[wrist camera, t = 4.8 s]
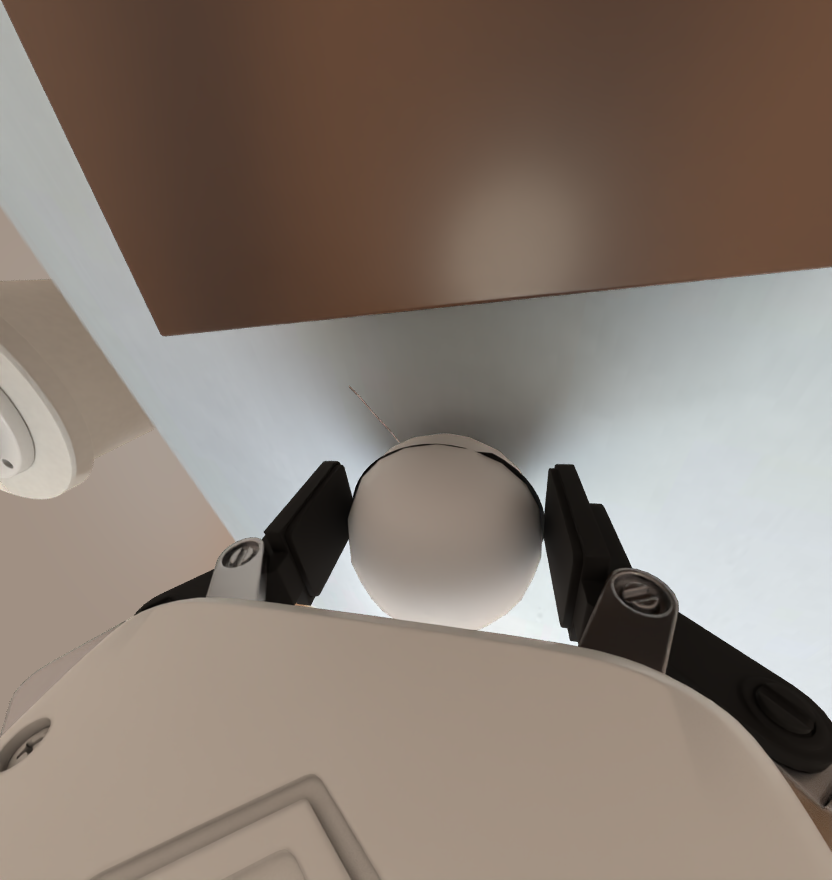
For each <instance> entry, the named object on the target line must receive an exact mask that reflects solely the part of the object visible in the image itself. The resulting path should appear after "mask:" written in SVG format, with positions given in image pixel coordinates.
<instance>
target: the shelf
mask: <svg viewBox="0 0 832 880" xmlns="http://www.w3.org/2000/svg"><path fill="white" fill-rule="evenodd" d="M1 1H2V3H3V5H4V7H5V9H6V11H7V13H8V15H9V18H10V20H11V22H12V24H13V26H14V28H15V30H16V32H17V34H18V36H19V39H20V41H21V43H22V45H23V47H24V49H25V51H26V53H27V55H28V57H29V59H30V62H31V64H32V66H33V68H34V70H35V72H36V74H37V76H38V78H39V80H40V83H41V85H42V87H43V89H44V91H45V93H46V95H47V97H48V99H49V101H50V104H51V106H52V108H53V110H54V112H55V114H56V116H57V118H58V120H59V122H60V124H61V127H62V129H63V131H64V133H65V135H66V137H67V139H68V141H69V143H70V145H71V148H72V150H73V152H74V154H75V156H76V158H77V160H78V162H79V164H80V166H81V168H82V171H83V173H84V175H85V177H86V179H87V181H88V183H89V185H90V187H91V189H92V192H93V194H94V196H95V198H96V200H97V202H98V204H99V206H100V208H101V210H102V212H103V215H104V217H105V219H106V221H107V223H108V225H109V227H110V229H111V231H112V233H113V236H114V238H115V240H116V242H117V244H118V246H119V248H120V250H121V252H122V254H123V256H124V259H125V261H126V263H127V265H128V267H129V269H130V271H131V273H132V275H133V277H134V280H135V282H136V284H137V286H138V288H139V290H140V292H141V294H142V296H143V298H144V300H145V303H146V305H147V307H148V309H149V311H150V313H151V315H152V317H153V319H154V321H155V324H156V326H157V328H158V330H159V332H160V334H161V335H162V336H174V335H184V334H194V333H203V332H213V331H222V330H232V329H242V328H251V327H261V326H271V325H280V324H290V323H299V322H309V321H319V320H328V319H338V318H347V317H357V316H367V315H376V314H386V313H396V312H405V311H415V310H424V309H434V308H444V307H453V306H463V305H473V304H482V303H492V302H501V301H511V300H521V299H530V298H540V297H549V296H559V295H569V294H578V293H588V292H598V291H607V290H617V289H626V288H636V287H646V286H655V285H665V284H675V283H684V282H694V281H703V280H713V279H723V278H732V277H742V276H752V275H761V274H771V273H780V272H790V271H800V270H809V269H819V268H828V267H832V0H1Z"/></svg>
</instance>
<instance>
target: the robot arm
mask: <svg viewBox="0 0 832 880" xmlns="http://www.w3.org/2000/svg"><path fill="white" fill-rule="evenodd" d="M34 455H35V448H34V443H33V439H32V436H31V434H30V431H29V429H28V427H27V425H26V423H25V421H24V419H23V418H22V416H21V414H20V413H19V411H18V410H17V408H16V407H15V405H14V404H13V403H12V401H11V400H10V399H9V397H8V396H7V395H6V393H5V392H4V391H3V390H2V389H1V388H0V479H1V478H10V477H12V476H14V475H17V474H19V473H21V472H24V471H26V470H27V469H28V468H30V467H31V465H32V463H33V461H34ZM352 504H353V498H352V494H351V490H350V487H349V483H348V479H347V475H346V471H345V468H344V466H343V465H341V464H340V463H339V462H338V461H324V462H323V463H322V464H321V465H320V466H319V467H318V469H317V470H316V471H315V472H314V473H313V474H312V476H311V477H310V478H309V479H308V480H307V482H306V483H305V484H304V485H303V486H302V487H301V489H300V490H299V491H298V492H297V493H296V494H295V496H294V497H293V498H292V499H291V500H290V502H289V503H288V504H287V505H286V506H285V507H284V509H283V510H282V511H281V512H280V513H279V515H278V516H277V517H276V518H275V519H274V520H273V522H272V523H271V524H270V525H269V526H268V527H267V529H266V530H265V531H264V533H265V536H264V537H263V539H262V540H261V539H259V538H257V537H250V538H245V539H242V540H240V541H237V542H235V543H234V544H232V545H230V546H229V547H228V548H227V549H225V550H224V551H223V552H222V554H221V555H220V556H219V558H218V560H217V562H216V566H215V569H213V570H211V571H209V572H207V573H205V574H203V575H200V576H198V577H196V578H194V579H192V580H190V581H188V582H185V583H184V584H181V585H179V586H177V587H175V588H173V589H170V590H169V591H166V592H164V593H162V594H160V595H158V596H156V597H154V598H153V599H151V600H150V601H149V602H147V603H146V604H144V605H143V606H142V607H141V608H140V609H139V610H138V611H137V612H136V614H135V615H134V616H133V617H131V618H130V619H128V620H127V621H124V622H122V623H120V624H119V625H117V626H115V627H113V628H111V629H110V630H108V631H106V632H104V633H102V634H101V635H99V636H97V637H95V638H94V639H92V640H90V641H88V642H86V643H84V644H83V645H81V646H79V647H78V648H76V649H74V650H72V651H70V652H68V653H67V654H65V655H63V656H61V657H59V658H57V659H56V660H54V661H52V662H51V663H48V664H47V665H45V666H44V667H42V668H41V669H39V670H37V671H36V672H35V673H33V674H32V675H31V676H30V677H29V678H28V679H26V680H25V681H24V682H23V683H22V684H21V686H20V687H19V688H18V689H17V690H16V691H15V693H14V695H13V697H12V699H11V701H10V703H9V707H8V710H7V714H6V717H5V721H4V724H3V727H2V731H1V734H0V880H832V722H831V720H830V719H829V718H828V716H827V715H826V714H825V712H824V711H823V710H822V709H821V708H820V707H819V706H818V705H817V704H816V703H815V702H814V701H813V700H812V699H810V698H809V697H808V696H807V695H805V694H804V693H803V692H801V691H800V690H799V689H797V688H796V687H795V686H793V685H792V684H790V683H789V682H787V681H785V680H784V679H782V678H781V677H779V676H778V675H776V674H775V673H773V672H771V671H770V670H768V669H767V668H765V667H764V666H762V665H760V664H759V663H757V662H756V661H754V660H753V659H751V658H750V657H748V656H746V655H745V654H743V653H742V652H740V651H739V650H737V649H735V648H734V647H732V646H731V645H729V644H728V643H726V642H725V641H723V640H721V639H720V638H718V637H717V636H715V635H714V634H712V633H711V632H709V631H707V630H706V629H704V628H703V627H701V626H700V625H698V624H696V623H695V622H693V621H692V620H690V619H689V618H687V617H686V616H684V615H682V614H681V613H679V612H678V611H679V605H678V600H677V598H676V596H675V594H674V592H673V591H672V590H671V589H670V588H669V587H668V586H667V585H666V584H665V583H664V582H663V581H661V580H660V579H659V578H657V577H655V576H653V575H651V574H649V573H648V572H645V571H641V570H638V569H633V568H632V567H631V564H630V562H629V560H628V558H627V556H626V553H625V551H624V549H623V547H622V545H621V543H620V540H619V538H618V536H617V534H616V532H615V529H614V527H613V525H612V523H611V521H610V518H609V516H608V514H607V512H606V510H605V508H604V506H603V505H602V504H592V503H589V501H588V499H587V496H586V494H585V491H584V489H583V486H582V484H581V481H580V479H579V476H578V474H577V471H576V469H575V466H574V465H570V464H556V465H555V468H549V471H548V481H547V491H546V502H545V513H544V516H545V522H544V532H543V535H544V541H545V547H546V552H547V557H548V563H549V568H550V573H551V579H552V584H553V589H554V595H555V600H556V605H557V611H558V616H559V621H560V625H561V627H562V628H567V629H568V633H569V638H570V641H575V642H578V646H573V645H568V644H562V643H556V642H550V641H543V640H537V639H531V638H524V637H518V636H512V635H506V634H498V633H491V632H484V631H477V630H470V629H463V628H456V627H449V626H442V625H435V624H428V623H421V622H414V621H407V620H399V619H392V618H385V617H378V616H370V615H363V614H356V613H348V612H341V611H333V610H326V609H318V608H310V607H303V606H295V604H296V603H297V604H302V605H310V606H311V604H312V602H313V600H314V598H315V596H319V595H320V593H321V591H322V589H323V588H324V586H325V584H326V582H327V580H328V578H329V576H330V574H331V572H332V570H333V568H334V566H335V564H336V563H337V561H338V559H339V557H340V555H341V553H342V551H343V549H344V547H345V545H346V543H347V541H348V539H349V532H348V516H349V513H350V510H351V507H352Z"/></svg>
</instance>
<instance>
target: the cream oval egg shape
mask: <svg viewBox="0 0 832 880" xmlns="http://www.w3.org/2000/svg"><path fill="white" fill-rule="evenodd" d="M349 388H350V389H351V390H352V391H353V392H354V393H355V394H356V395H357V396H358V397H359V398H360V399H361V400H362V401H363V402H364V404H365V405H366V406H367V407H368V408H369V410H370V411H371V412H372V413H373V414H374V415H375V416H376V414H375V413H374V412H373V411H372V410H371V409H370V407H369V406H368V405H367V404H366V403H365V401H364V400H363V399H362V398H361V397H360V396H359V395H358V394H357V393H356V392H355V391H354V390H353V389H352V388H351V387H350V386H349ZM376 418H377V419H378V420H379V421H380V422H381V423H382V424H383V425H384V426H385V427H386V428H387V429H388V430H389V431H390V429H389V428H388V427H387V426H386V425H385V424H384V423H383V422H382V421H381V420H380V419H379V418H378V417H377V416H376ZM390 433H391V434H392V435H393V436H394V437H395V435H394V434H393V433H392V432H391V431H390ZM395 439H396V440H397V441H398V442H399V440H398V439H397V438H396V437H395ZM544 522H545V516H544V511H543V507H542V505H541V502H540V499H539V497H538V495H537V494H536V492H535V490H534V488H533V487H532V486H531V484H530V483H529V482H528V480H527V479H526V478H525V477H524V476H523V475H522V473H521V471H520V470H519V468H518V467H517V466H515V465H514V464H513V463H512V462H511V461H510V460H509V459H508V458H506V457H505V456H504V455H503V454H502V453H501V452H500V451H499V450H497V449H494V448H492V447H490V446H488V445H486V444H484V443H481V442H479V441H477V440H475V439H473V438H470V437H467V436H461V435H454V434H448V433H441V434H434V435H426V436H418V437H413V438H411V439H409V440H407V441H404V442H402V443H400V442H399V444H398V445H396V446H394V447H392V448H390V449H389V450H388V451H387V452H386V453H385V454H384V455H383V456H382V457H381V458H379V459H377V460H376V461H375V462H374V463H372V464H371V465H370V466H369V467H368V468H367V469H366V470H365V471H364V473H363V474H362V476H361V477H360V479H359V481H358V483H357V485H356V487H355V491H354V495H353V504H352V507H351V510H350V513H349V516H348V532H349V544H350V553H351V562H352V565H353V567H354V569H355V571H356V573H357V575H358V577H359V579H360V581H361V583H362V584H363V586H364V588H365V589H366V591H367V592H368V594H369V595H370V597H371V599H372V600H373V601H374V602H375V603H376V604H377V605H378V606H379V607H380V609H381V610H382V611H383V612H385V613H386V614H388V615H389V616H391V617H392V618H393V619H399V620H407V621H414V622H421V623H428V624H435V625H442V626H449V627H456V628H463V629H470V630H479V629H481V628H484V627H486V626H488V625H490V624H491V623H493V622H494V621H496V620H498V619H499V618H501V617H503V616H504V615H506V614H507V613H508V612H509V611H510V610H511V609H512V608H513V607H514V606H516V605H517V604H518V603H519V602H520V601H521V600H522V598H523V596H524V594H525V592H526V590H527V589H528V587H529V585H530V583H531V581H532V580H533V577H534V575H535V572H536V570H537V567H538V564H539V562H540V559H541V549H542V542H543V539H544V535H543V532H544Z"/></svg>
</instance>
